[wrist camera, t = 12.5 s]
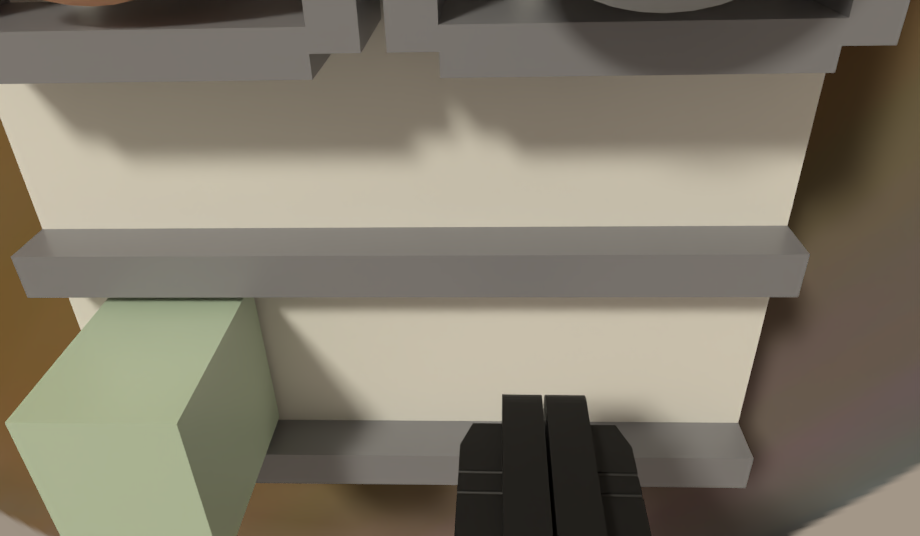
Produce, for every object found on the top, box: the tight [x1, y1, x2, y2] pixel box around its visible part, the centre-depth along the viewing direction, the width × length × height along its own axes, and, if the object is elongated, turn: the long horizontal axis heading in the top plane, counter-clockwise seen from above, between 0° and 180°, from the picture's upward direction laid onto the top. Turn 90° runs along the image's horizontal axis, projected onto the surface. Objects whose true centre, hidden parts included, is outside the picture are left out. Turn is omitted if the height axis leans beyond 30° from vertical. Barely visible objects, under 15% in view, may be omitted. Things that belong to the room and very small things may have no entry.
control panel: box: [0, 0, 910, 488], centre depth 14 cm, size 20×16×5 cm
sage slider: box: [5, 298, 280, 536], centre depth 15 cm, size 4×3×4 cm
